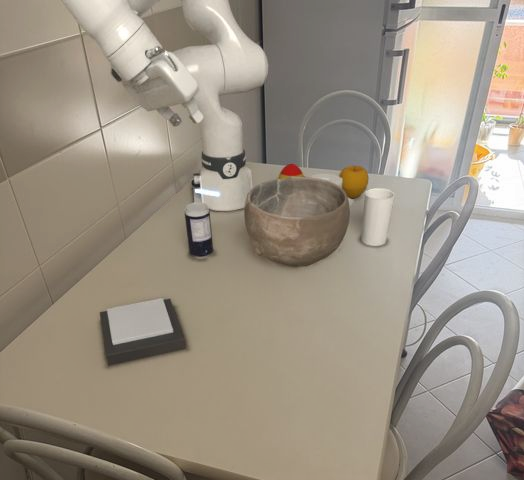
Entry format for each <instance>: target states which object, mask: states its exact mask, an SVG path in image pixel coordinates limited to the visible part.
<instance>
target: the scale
mask: <svg viewBox="0 0 524 480" xmlns="http://www.w3.org/2000/svg"><path fill="white" fill-rule="evenodd" d="M99 318H100V325H101V333H102V339H103V345H104V353H105V359H106V362H107V365H108V366H109V367H110V366H115V365H118V364H124V363H127V362H132V361H136V360H141V359H146V358H150V357H156V356H159V355H164V354H168V353H172V352H173V353H174V352H177V351H182V350H186V347H187V346H186V341H185V336H184V334H183V332H182V331H183V330H182V328H181V326H180V322H179V320H178V316H177V314H176V311H175V308H174V305H173V302H172V299H171V298H166V299H164V298H163V297H161V298H155V299H151V300H145V301H140V302H135V303H129V304H123V305H119V306H115V307H109V308H106V310H104V311H100V312H99Z"/></svg>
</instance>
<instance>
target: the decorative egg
mask: <svg viewBox="0 0 524 480" xmlns="http://www.w3.org/2000/svg"><path fill="white" fill-rule="evenodd" d="M297 176H298V177H305V176H304V173H303V171H302V170H301V168H300V167H299V166H298V165H296V164H294V163H289V164H286V165H285V166H284V167H282V168H281V171H280V172H279V174H278V177H277V179H282V178H287V177H297Z"/></svg>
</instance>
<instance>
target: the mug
mask: <svg viewBox="0 0 524 480" xmlns="http://www.w3.org/2000/svg"><path fill="white" fill-rule="evenodd" d="M395 195H396V194H395V192H394V191H392V190H391V189H388V188H383V187H382V188H381V187H375V188H370V189H367V190H365V191H364V200H363V211H362V220H361V231H360V232H361V233H360V241H361V243H362V244H364V245H366V246H370V247H379V246H383V245H385V244H386V242H387V239H388V233H389V228H390V224H391V217H392V212H393V206H394V200H395Z"/></svg>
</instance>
